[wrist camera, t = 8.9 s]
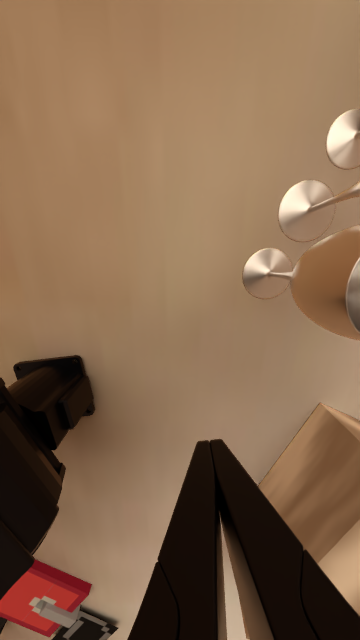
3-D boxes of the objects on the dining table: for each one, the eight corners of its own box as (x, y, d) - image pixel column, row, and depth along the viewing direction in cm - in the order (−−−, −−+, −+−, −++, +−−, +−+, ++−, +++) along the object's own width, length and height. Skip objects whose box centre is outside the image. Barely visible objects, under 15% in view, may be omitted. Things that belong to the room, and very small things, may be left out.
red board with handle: (85, 651, 33) (137, 600, 30) (77, 686, 30) (133, 633, 28) (-102, 573, 29) (-61, 506, 26) (-131, 604, 26) (-89, 533, 24)
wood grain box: (226, 528, 26) (246, 638, 18) (320, 402, 22) (398, 478, 14) (315, 559, 28) (368, 674, 20) (420, 448, 23) (541, 540, 15)
